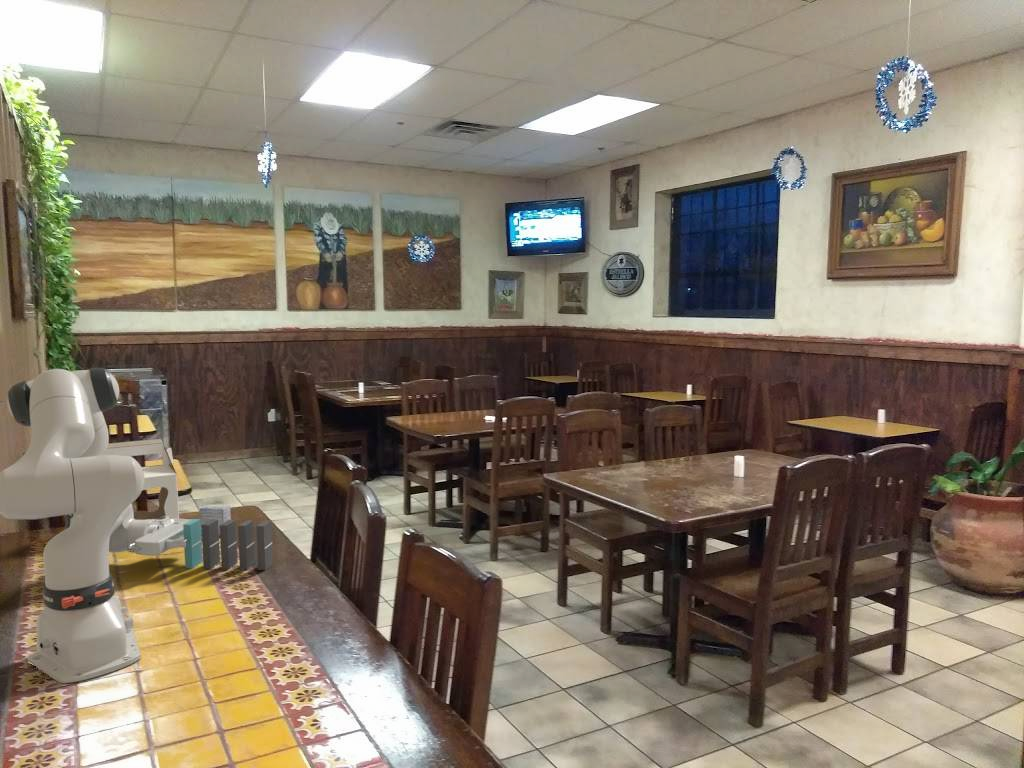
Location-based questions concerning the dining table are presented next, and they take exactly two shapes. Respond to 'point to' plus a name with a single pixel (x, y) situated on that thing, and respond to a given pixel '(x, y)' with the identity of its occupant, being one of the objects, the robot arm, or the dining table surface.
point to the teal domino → (193, 543)
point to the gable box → (153, 475)
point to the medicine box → (215, 514)
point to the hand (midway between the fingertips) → (196, 537)
